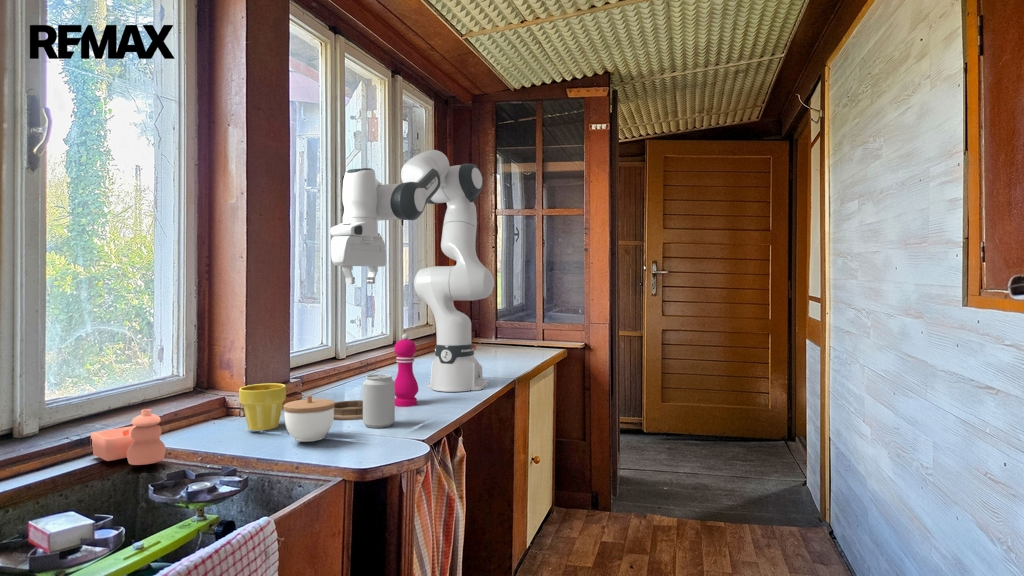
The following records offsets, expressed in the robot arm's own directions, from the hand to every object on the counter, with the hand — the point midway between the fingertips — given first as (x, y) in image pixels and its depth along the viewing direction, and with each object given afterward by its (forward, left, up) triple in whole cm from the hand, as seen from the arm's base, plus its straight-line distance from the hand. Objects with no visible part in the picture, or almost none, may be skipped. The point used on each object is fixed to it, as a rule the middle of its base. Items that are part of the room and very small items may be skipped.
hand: (360, 284), depth 163 cm
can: (+9, +11, -34) cm, 37 cm away
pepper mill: (-16, +4, -34) cm, 38 cm away
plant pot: (+20, -14, -34) cm, 42 cm away
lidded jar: (+25, +3, -34) cm, 42 cm away
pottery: (+48, -22, -34) cm, 63 cm away
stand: (0, -3, -34) cm, 34 cm away
